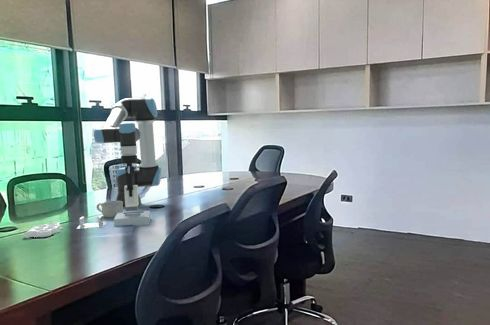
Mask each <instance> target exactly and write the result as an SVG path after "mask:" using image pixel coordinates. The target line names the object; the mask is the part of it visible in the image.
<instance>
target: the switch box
mask: <svg viewBox="0 0 490 325" xmlns="http://www.w3.org/2000/svg"><path fill="white" fill-rule="evenodd" d="M150 222H151V210H142V211H126V212H123V213H117V215H116V216H115V217H113V226H114V227H117V226H118V227H120V226H130V225H133V227H137V226H138V227H139V226H149V225H150Z"/></svg>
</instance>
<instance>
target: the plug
mask: <svg viewBox="0 0 490 325" xmlns="http://www.w3.org/2000/svg"><path fill="white" fill-rule="evenodd" d="M138 188H139V187H138V185H133V190H134V203H130V204H128V190H126V189H127V186H124V194H125V206H124V207H125V209H126V212H135V211H138V210H139V205H140V204H139V202H138V194H139V189H138Z"/></svg>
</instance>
